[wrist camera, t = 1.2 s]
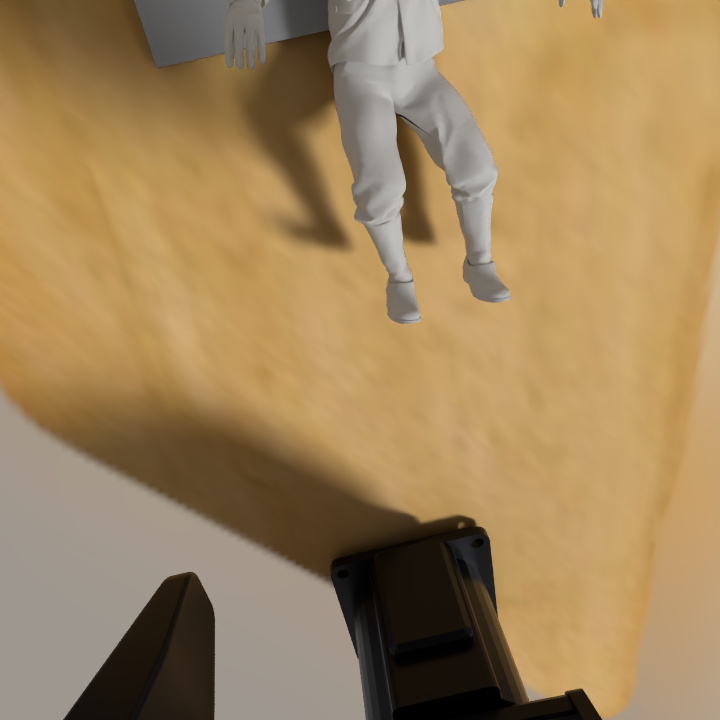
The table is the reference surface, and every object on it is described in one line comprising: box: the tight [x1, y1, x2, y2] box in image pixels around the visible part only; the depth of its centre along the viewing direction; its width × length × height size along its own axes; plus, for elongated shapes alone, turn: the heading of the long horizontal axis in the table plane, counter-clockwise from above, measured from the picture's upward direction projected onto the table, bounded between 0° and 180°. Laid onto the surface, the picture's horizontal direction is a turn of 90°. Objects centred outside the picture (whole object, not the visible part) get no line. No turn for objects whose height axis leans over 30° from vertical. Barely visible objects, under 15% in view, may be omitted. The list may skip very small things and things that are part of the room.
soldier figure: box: [224, 0, 603, 324], centre depth 12 cm, size 8×5×12 cm
